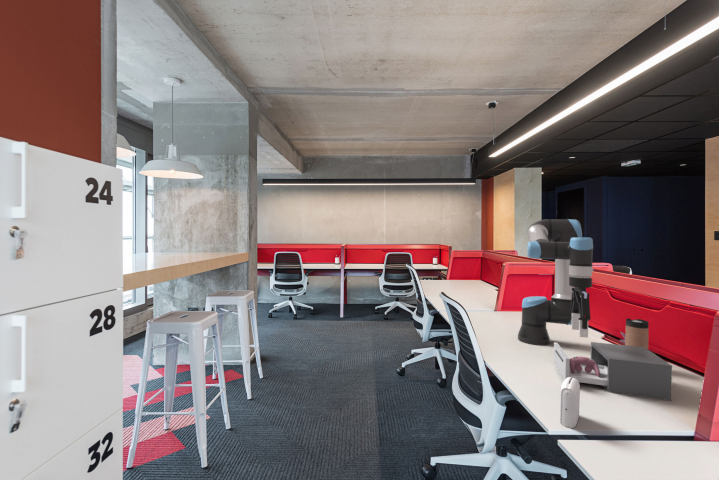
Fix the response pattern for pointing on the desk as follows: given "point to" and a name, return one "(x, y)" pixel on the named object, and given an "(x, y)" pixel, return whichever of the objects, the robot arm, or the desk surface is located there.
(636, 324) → the travel mug
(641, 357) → the box
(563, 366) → the light grey drawer
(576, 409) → the photo printer
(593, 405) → the desk surface
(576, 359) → the video game controller
